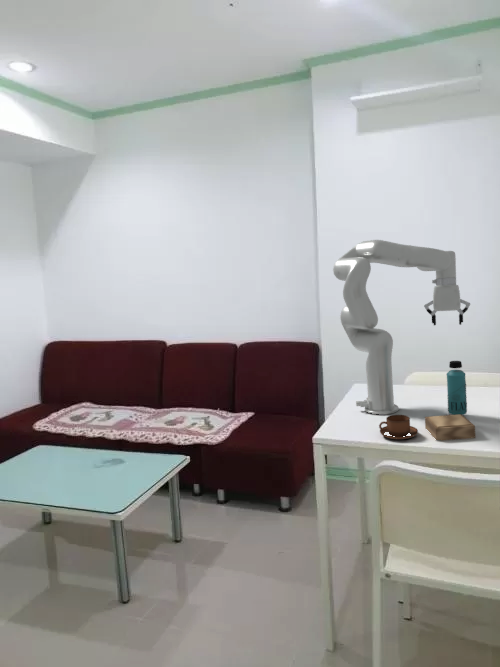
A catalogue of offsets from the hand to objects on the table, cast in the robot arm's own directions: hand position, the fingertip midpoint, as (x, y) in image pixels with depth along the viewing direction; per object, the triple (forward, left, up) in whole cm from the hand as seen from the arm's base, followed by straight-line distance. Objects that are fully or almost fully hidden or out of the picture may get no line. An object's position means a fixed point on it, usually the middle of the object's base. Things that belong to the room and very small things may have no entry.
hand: (447, 324), depth 207 cm
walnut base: (-15, -46, -29) cm, 56 cm away
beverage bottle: (-7, -30, -29) cm, 42 cm away
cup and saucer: (-31, -45, -29) cm, 62 cm away
